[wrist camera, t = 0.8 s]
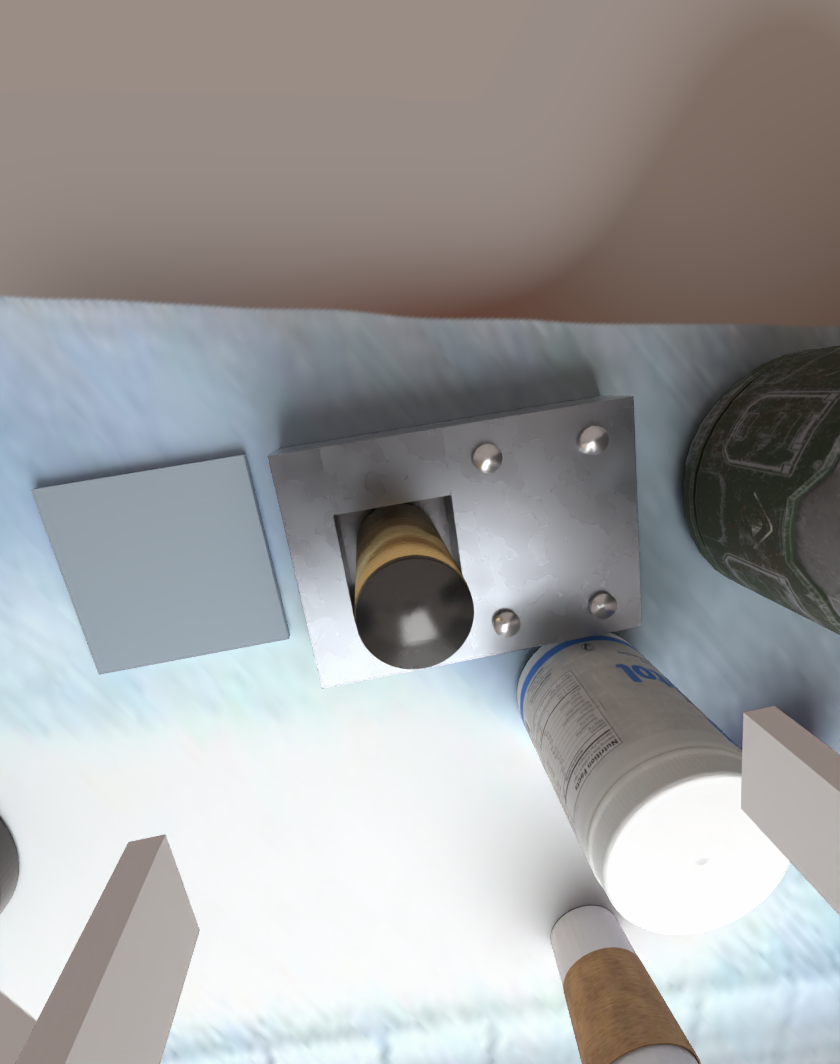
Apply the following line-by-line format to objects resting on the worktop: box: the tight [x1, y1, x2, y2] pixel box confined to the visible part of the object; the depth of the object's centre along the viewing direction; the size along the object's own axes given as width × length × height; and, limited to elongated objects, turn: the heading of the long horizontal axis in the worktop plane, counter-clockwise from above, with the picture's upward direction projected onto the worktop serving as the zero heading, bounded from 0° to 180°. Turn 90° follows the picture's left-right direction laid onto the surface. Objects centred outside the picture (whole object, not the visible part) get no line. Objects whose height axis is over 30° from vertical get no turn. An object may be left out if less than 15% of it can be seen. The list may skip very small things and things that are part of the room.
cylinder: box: [355, 504, 474, 669], centre depth 27 cm, size 5×5×11 cm
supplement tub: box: [517, 633, 790, 935], centre depth 30 cm, size 10×10×15 cm
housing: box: [268, 396, 642, 689], centre depth 31 cm, size 20×14×4 cm
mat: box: [31, 454, 290, 675], centre depth 32 cm, size 12×12×1 cm
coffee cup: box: [551, 905, 701, 1064], centre depth 37 cm, size 8×8×15 cm
